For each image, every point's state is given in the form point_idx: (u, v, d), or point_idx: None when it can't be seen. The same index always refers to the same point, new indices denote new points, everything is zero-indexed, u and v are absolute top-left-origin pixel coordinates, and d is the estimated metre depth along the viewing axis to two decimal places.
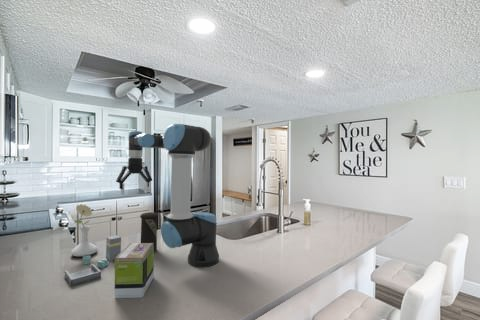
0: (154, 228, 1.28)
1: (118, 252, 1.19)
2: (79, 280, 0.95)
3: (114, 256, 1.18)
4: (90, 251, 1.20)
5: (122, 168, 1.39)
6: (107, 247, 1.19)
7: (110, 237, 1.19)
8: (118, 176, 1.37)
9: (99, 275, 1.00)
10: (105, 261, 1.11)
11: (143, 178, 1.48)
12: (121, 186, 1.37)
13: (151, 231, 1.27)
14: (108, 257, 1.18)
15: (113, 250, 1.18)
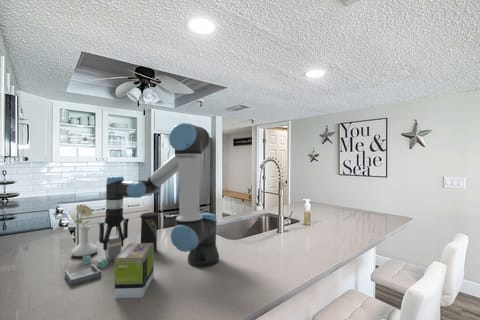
0: (154, 228, 1.28)
1: (118, 252, 1.19)
2: (79, 280, 0.95)
3: (114, 256, 1.18)
4: (90, 251, 1.20)
5: (99, 225, 1.16)
6: None
7: (110, 237, 1.19)
8: (99, 235, 1.16)
9: (99, 275, 1.00)
10: (105, 261, 1.11)
11: None
12: (105, 247, 1.17)
13: (151, 231, 1.27)
14: (108, 257, 1.18)
15: (113, 250, 1.18)
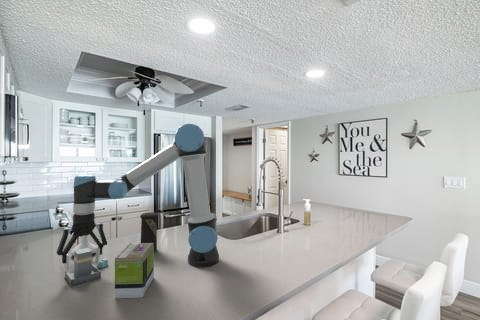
0: (154, 228, 1.28)
1: (88, 269, 1.00)
2: (79, 280, 0.95)
3: (83, 274, 0.98)
4: None
5: (63, 232, 0.96)
6: (75, 263, 0.99)
7: (79, 251, 1.00)
8: (59, 245, 0.95)
9: (99, 275, 1.00)
10: (105, 261, 1.11)
11: (95, 241, 1.04)
12: (64, 259, 0.95)
13: (151, 231, 1.27)
14: (76, 275, 0.98)
15: (82, 267, 0.98)
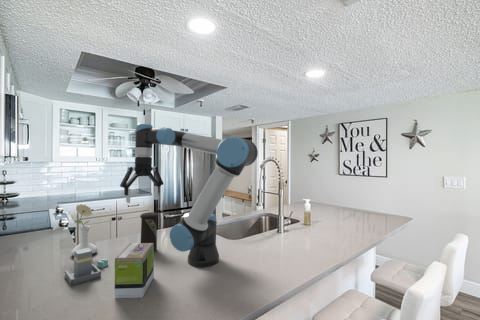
0: (154, 228, 1.28)
1: (88, 269, 1.00)
2: (79, 280, 0.95)
3: (83, 274, 0.98)
4: None
5: None
6: (75, 263, 0.99)
7: (79, 251, 1.00)
8: (123, 179, 1.11)
9: (99, 275, 1.00)
10: (105, 261, 1.11)
11: (153, 182, 1.22)
12: (126, 192, 1.11)
13: (151, 231, 1.27)
14: (76, 275, 0.98)
15: (82, 267, 0.98)
